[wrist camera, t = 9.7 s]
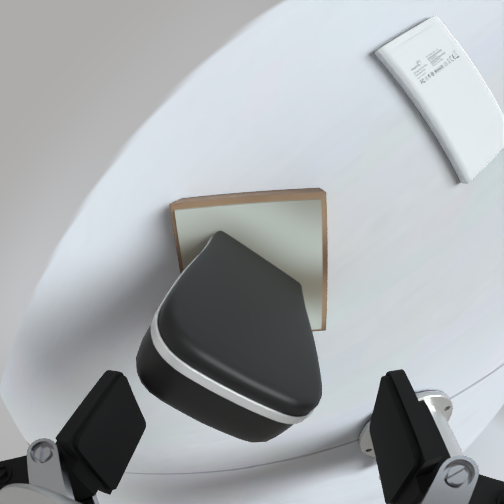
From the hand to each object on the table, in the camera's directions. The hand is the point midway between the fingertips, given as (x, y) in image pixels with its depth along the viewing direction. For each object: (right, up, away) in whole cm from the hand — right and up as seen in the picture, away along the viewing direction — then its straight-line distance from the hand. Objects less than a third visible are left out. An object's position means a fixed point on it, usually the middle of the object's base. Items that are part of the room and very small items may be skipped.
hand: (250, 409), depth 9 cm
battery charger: (0, +4, +10) cm, 11 cm away
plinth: (0, +5, +13) cm, 14 cm away
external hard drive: (+16, +18, +8) cm, 26 cm away
